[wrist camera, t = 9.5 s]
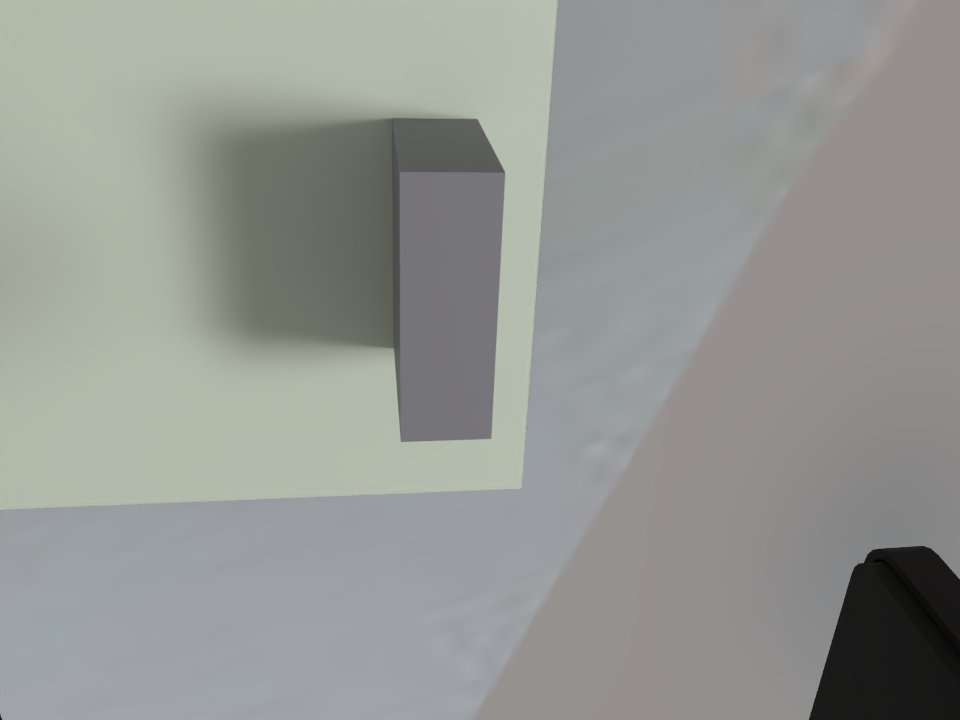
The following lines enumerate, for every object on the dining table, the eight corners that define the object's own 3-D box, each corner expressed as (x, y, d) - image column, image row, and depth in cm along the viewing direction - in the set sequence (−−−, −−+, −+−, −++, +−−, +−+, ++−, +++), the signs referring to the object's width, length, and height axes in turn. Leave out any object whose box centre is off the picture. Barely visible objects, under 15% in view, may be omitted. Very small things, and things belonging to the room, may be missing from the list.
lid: (-199, -138, 18) (-409, -150, 13) (555, -104, 19) (620, -104, 15) (-23, 489, 25) (-116, 633, 20) (516, 468, 27) (550, 595, 22)
